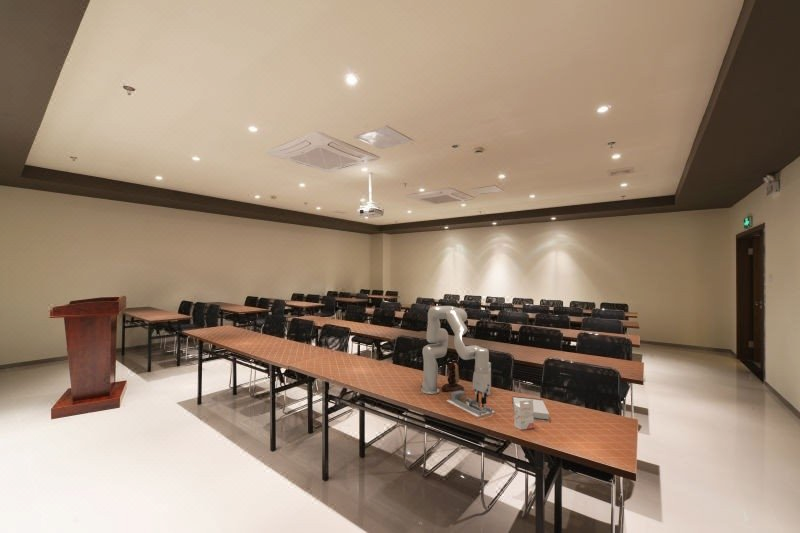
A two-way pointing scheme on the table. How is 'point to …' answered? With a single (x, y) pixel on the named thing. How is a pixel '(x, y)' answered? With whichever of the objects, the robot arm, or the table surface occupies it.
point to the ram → (478, 404)
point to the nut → (463, 399)
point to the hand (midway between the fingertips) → (481, 402)
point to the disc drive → (535, 408)
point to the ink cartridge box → (523, 415)
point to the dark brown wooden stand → (453, 378)
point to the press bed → (467, 405)
